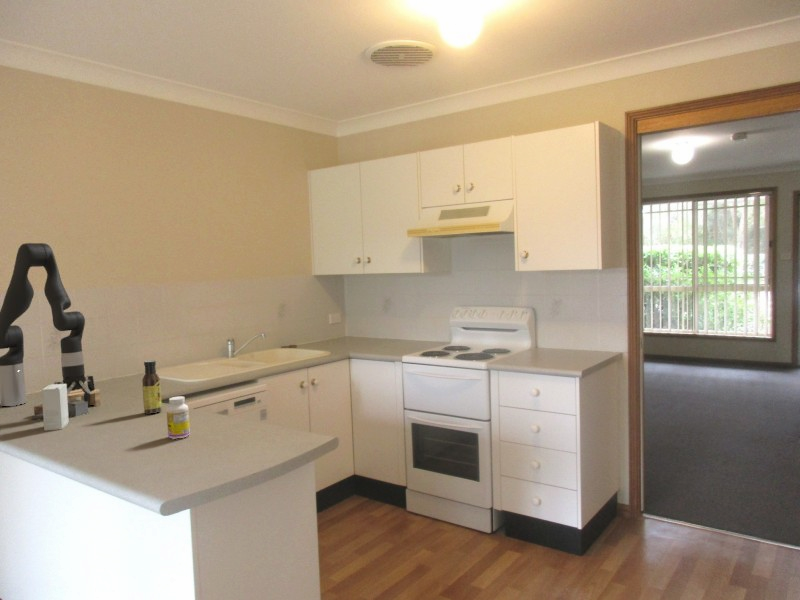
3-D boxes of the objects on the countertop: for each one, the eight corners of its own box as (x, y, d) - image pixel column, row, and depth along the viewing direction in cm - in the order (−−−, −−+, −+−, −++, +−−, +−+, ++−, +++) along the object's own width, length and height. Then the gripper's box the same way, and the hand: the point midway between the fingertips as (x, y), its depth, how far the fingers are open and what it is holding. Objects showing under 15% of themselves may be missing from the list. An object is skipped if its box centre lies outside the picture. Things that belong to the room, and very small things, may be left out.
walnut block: (34, 417, 225) (33, 406, 225) (43, 414, 229) (42, 404, 229) (43, 417, 224) (42, 406, 224) (51, 414, 228) (51, 404, 228)
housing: (64, 414, 227) (63, 402, 227) (76, 412, 231) (75, 399, 231) (76, 417, 223) (75, 404, 223) (88, 414, 227) (87, 401, 227)
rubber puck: (30, 419, 222) (30, 415, 222) (41, 417, 225) (41, 413, 225) (35, 421, 220) (35, 417, 220) (47, 418, 223) (46, 414, 223)
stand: (57, 409, 236) (56, 393, 235) (86, 402, 246) (85, 387, 246) (71, 412, 231) (70, 396, 230) (100, 405, 241) (99, 389, 240)
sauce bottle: (162, 413, 223) (159, 361, 222) (144, 415, 220) (141, 363, 219) (161, 409, 229) (158, 359, 228) (143, 412, 226) (140, 360, 225)
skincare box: (51, 425, 212) (48, 384, 211) (70, 423, 213) (67, 382, 213) (43, 431, 204) (40, 389, 203) (62, 429, 205) (59, 387, 204)
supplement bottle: (168, 435, 193) (166, 397, 192) (189, 432, 195) (187, 394, 194) (168, 441, 186) (165, 401, 186) (190, 438, 189) (187, 398, 188)
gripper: (85, 360, 234) (88, 400, 235) (48, 366, 222) (51, 409, 223) (96, 361, 230) (99, 402, 231) (59, 367, 218) (62, 410, 219)
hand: (76, 405), depth 227 cm, fingers open, 8 cm apart
